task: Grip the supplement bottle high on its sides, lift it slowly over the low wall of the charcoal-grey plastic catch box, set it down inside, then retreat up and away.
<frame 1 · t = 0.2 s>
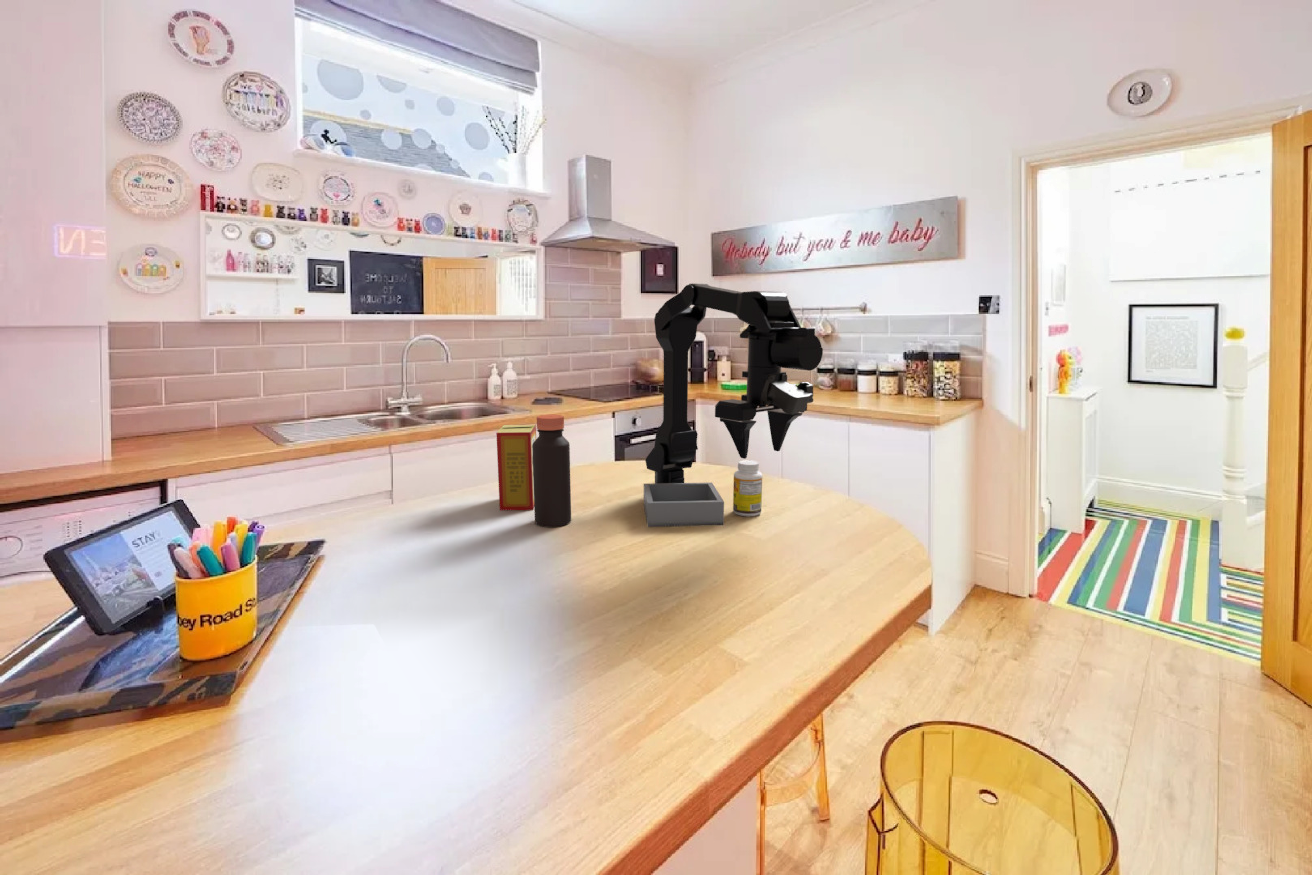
hand: (760, 454, 115), 14 cm above the counter, fingers open, 9 cm apart
supplement bottle: (747, 514, 128), on the counter
catch box: (681, 514, 127), on the counter
vinegar: (553, 523, 122), on the counter
baking soda box: (519, 504, 134), on the counter
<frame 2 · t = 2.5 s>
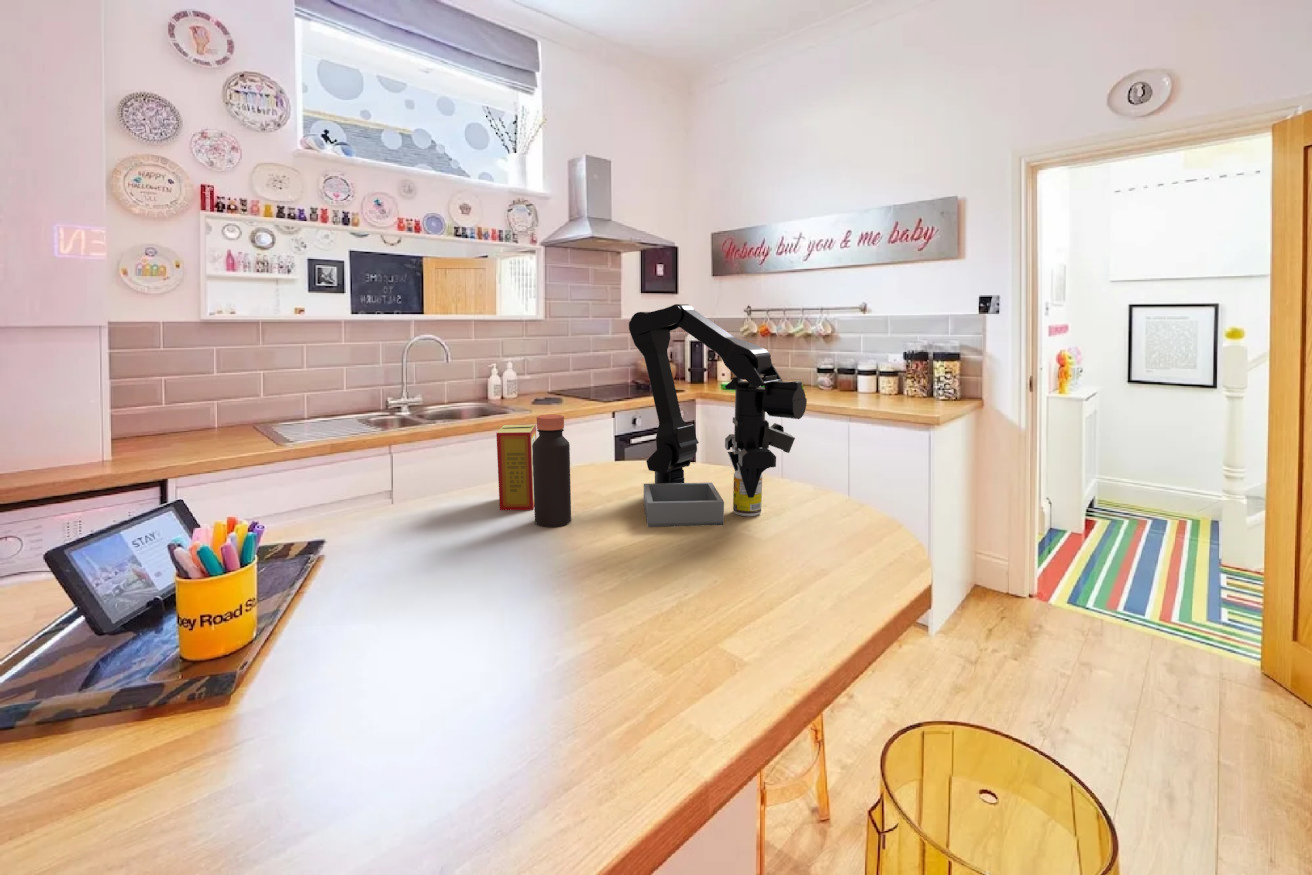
hand: (747, 493, 127), 4 cm above the counter, fingers closed on supplement bottle, 6 cm apart
supplement bottle: (747, 514, 128), on the counter, touching gripper
everything else where it was.
when the fingers open (6 cm above the counter, at t = 9.3 s): supplement bottle drops 2 cm, resting on catch box.
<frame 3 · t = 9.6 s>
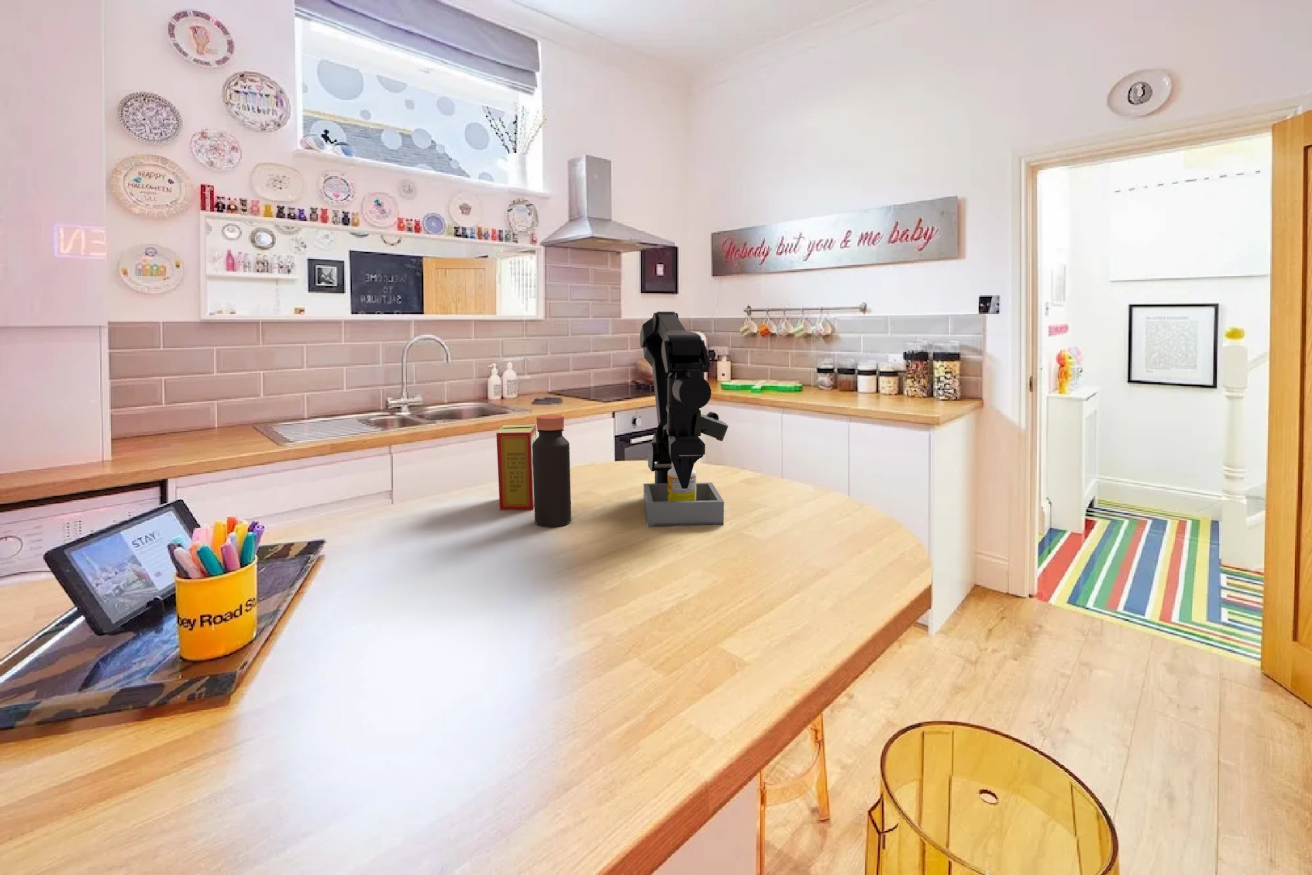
hand: (681, 482, 126), 6 cm above the counter, fingers open, 9 cm apart
supplement bottle: (681, 512, 127), resting on catch box
everything else where it was.
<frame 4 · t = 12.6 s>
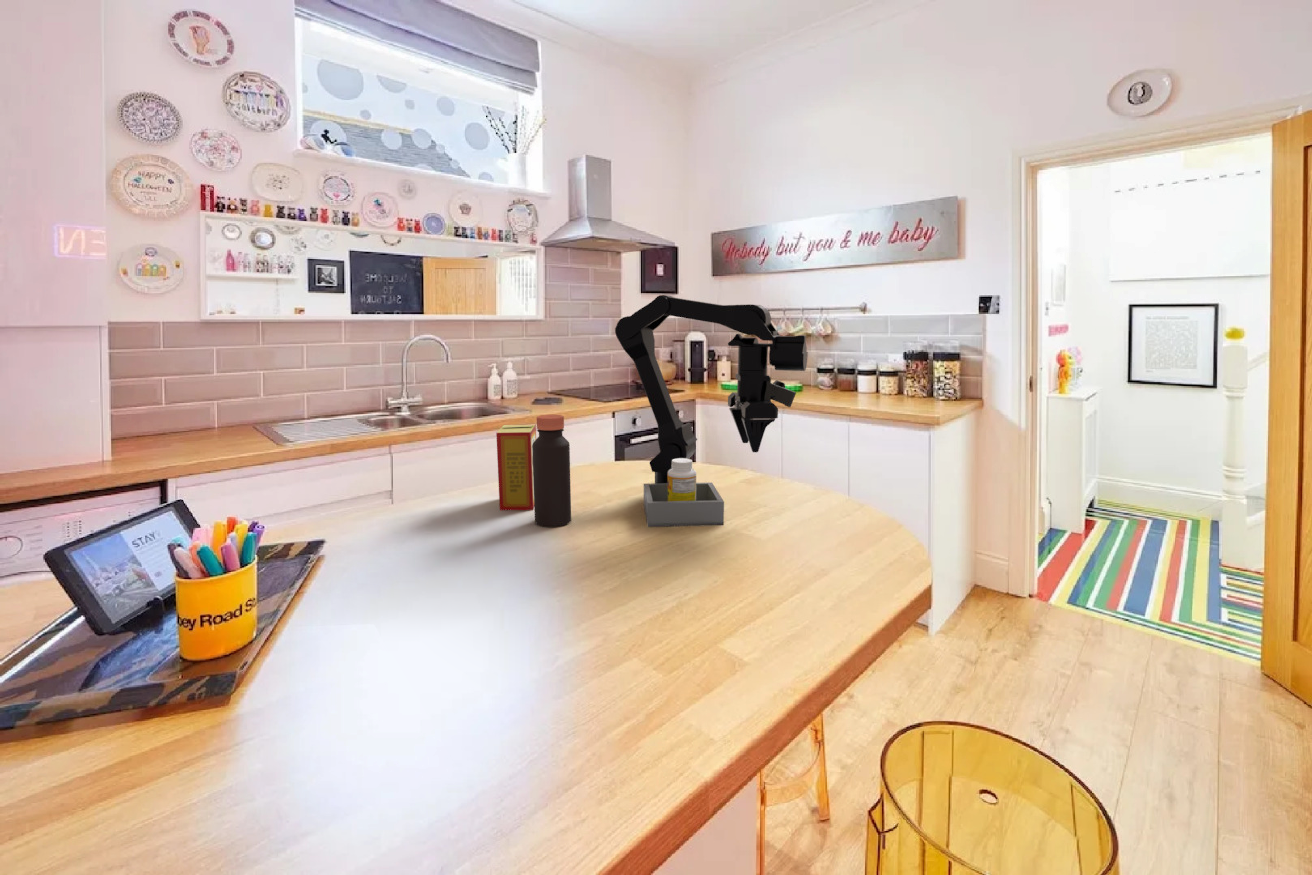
hand: (750, 447, 131), 12 cm above the counter, fingers open, 9 cm apart
nothing on the counter moved.
at the end: supplement bottle inside the target area on the catch box (0.1 cm from its centre), point 0.4 cm above the catch box's base; the gripper is holding nothing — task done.
